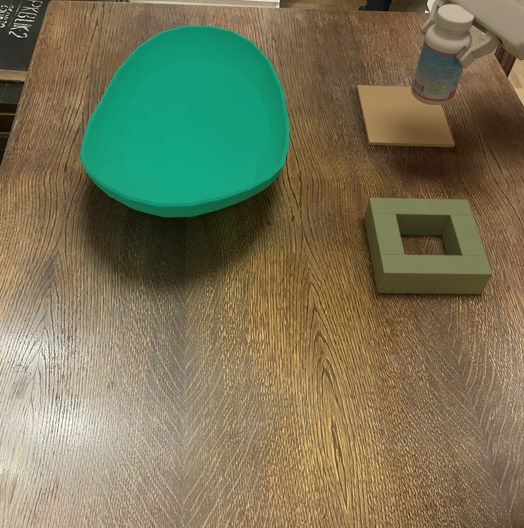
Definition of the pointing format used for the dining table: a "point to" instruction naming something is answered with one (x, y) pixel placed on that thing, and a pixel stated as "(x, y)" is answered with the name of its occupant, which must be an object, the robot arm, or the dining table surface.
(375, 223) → the stand
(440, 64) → the pill bottle
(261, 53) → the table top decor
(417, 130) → the mat
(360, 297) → the dining table surface
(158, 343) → the dining table surface
